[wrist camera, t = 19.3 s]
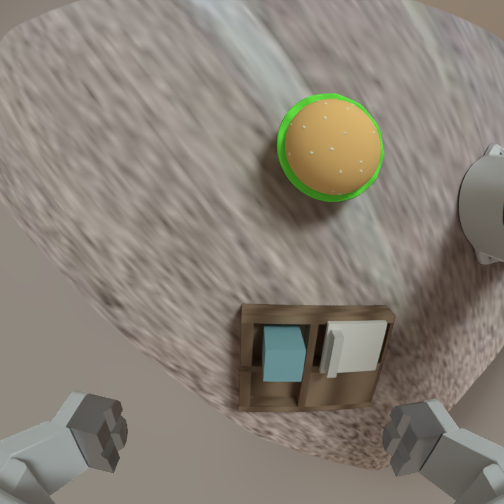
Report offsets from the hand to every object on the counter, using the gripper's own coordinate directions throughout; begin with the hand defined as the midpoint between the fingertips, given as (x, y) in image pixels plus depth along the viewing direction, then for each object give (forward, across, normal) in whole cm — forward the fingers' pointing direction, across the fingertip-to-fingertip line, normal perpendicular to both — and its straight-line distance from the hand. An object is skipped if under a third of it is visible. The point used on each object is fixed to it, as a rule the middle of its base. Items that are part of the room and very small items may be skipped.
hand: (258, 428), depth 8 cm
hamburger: (+31, -8, -10) cm, 34 cm away
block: (+30, -4, +14) cm, 33 cm away
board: (+31, -9, +18) cm, 37 cm away
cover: (+28, -14, +14) cm, 34 cm away
